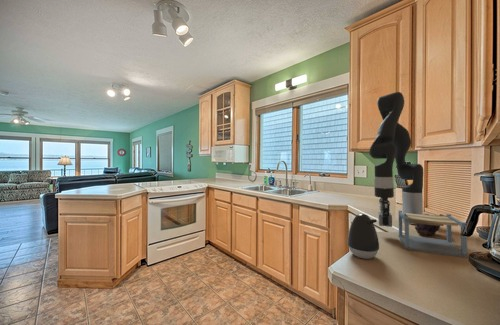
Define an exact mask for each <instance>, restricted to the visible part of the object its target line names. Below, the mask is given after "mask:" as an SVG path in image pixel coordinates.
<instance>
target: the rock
mask: <svg viewBox="0 0 500 325" xmlns="http://www.w3.org/2000/svg"><path fill="white" fill-rule="evenodd" d="M424 214H425V215H430V214H429V213H424ZM414 229H415V230H416V232H417V234H419V235H421V236H423V237H426V236H435V234H436V232H438V231H439V230H440V229H441V226H437V225H427V224H416V225H415V226H414Z"/></svg>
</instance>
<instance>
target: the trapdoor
mask: <svg viewBox="0 0 500 325" xmlns="http://www.w3.org/2000/svg"><path fill="white" fill-rule="evenodd" d="M425 214H426V213H423V214H412V213H405V214H404V215H405V216H406V217H408V218H409V223H416V224H415V225H417V224H427V225H437V226H440V227H444V226H447V225H451V226H455V227H458V226H459V225H458V223H457V222H455V221H453V220H451V219H450V218H449V217H446V215H436V214H435V215H434V214H429V215H425Z"/></svg>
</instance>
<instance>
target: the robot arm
mask: <svg viewBox="0 0 500 325" xmlns="http://www.w3.org/2000/svg"><path fill="white" fill-rule="evenodd" d="M376 103H377V108H378V111H379V114H380V116H381V118H382V122H381V123H380V124H379V126H378V130H377V135H376V137H375V139H374V141H373V142H372V144H371V145H370V147H369V156H370V157H371V158H373V159H376V160H379V159H380V160H382V159H385V161H384V162H382V163H377V164H376V165H374V180H373V182H374V185H373V186H374V197H375V198H379V200H378V204H379V211H380V212H381V213H382V218H383V225H389V222H388V217H389V216H390V215H389V213H390V211H391V210H390V206H391V203H390V200H389V199H391V198H394V197H395V188H394V179H393V176H394V175H393V168H394V166H393V165H394V161H395V164H396V165H395V166H396V169H397V173H398V177H399V178H400V180H404V181H405V180H406V181H412V183H410V184H408V185H404V186H402V187H401V194H402V195H401V197H402V198H401V203H402V205H401V206H402V208H401V211H402V213H403V214H405V213H412V214H424V212H423V211H424V210H423V209H424V207H423V205H424V203H423V200H424V199H423V197H424V196H423V188H424V168H423V165H422V164H420V163H407V162H406V156H407V153H408V152H409V150H410V148H411V145H412V140H411V136H410V133H409V131H408V129H407V128H406V127H404V126H403V125H402V124H400V123H399V119H400V117H401V115H402V113H403V109H404V106H405V97H404V95H403V93H402V92H400V91H396V92H392V93H389V94H386V95H381V96H379V97H378V98H377V102H376ZM385 213H387V214H385ZM402 223H405V222H404V220H403V219H402ZM411 224H412V225H417V224H416V223H409V225H411Z"/></svg>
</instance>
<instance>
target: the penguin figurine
mask: <svg viewBox="0 0 500 325" xmlns="http://www.w3.org/2000/svg"><path fill="white" fill-rule="evenodd" d="M375 223H378V219H376V218H375V219H374V218H372V219H371V217H370V216H368V215H367V214H366V213H358V214H356V215H355V216H354V218H353V219H352V220H351V224H350V227H349V230H348V234H347V242H346V243H347V246H348V248H349V251H350V252H351V254H353V256H356V257H357V258H360V259H365V260H366V259H367V260H369V259H373V258H374V257H376V256H377V254H378V252H379V250H380V241H379V237H378V233H377V230H376V227H375V225H374V224H375Z"/></svg>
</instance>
